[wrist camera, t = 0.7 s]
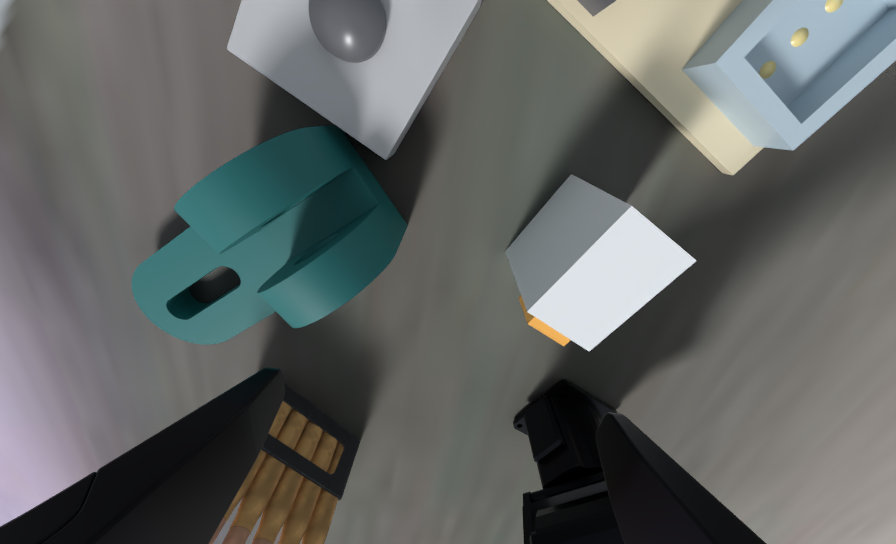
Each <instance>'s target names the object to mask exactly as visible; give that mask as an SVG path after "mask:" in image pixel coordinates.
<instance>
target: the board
mask: <svg viewBox="0 0 896 544" xmlns="http://www.w3.org/2000/svg"><path fill="white" fill-rule="evenodd" d="M547 1H548V2H549V3H550V4H551V5H552V6H553V7H554V8H555V9H556V10H557V11H558V12H559V13H560V14H561V15H562V16H563V17H564V18H565V19H566V20H567V21H568V22H569V23H570V24H571V25H573V26H574V27H575V28H576V29H577V30H578V31H579V32H580V33H581V34H582V35H583V36H584V37H585V38H586V39H587V40H588V41H589V42H590V43H591V44H592V45H593V46H594V47H595V48H596V49H597V50H598V51H599V52H600V53H601V54H602V55H603V56H604V57H605V58H606V59H607V60H608V61H609V62H610V63H611V64H612V65H613V66H614V67H615V68H616V69H617V70H618V71H619V72H620V73H621V74H622V75H623V76H624V77H625V78H626V79H627V80H628V81H629V82H630V83H631V84H632V85H633V86H634V87H635V88H636V89H637V90H638V91H639V92H640V93H641V94H643V95H644V96H645V97H646V98H647V99H648V100H649V101H650V102H651V103H652V104H653V105H654V106H655V107H656V108H657V109H658V110H659V111H660V112H661V113H662V114H663V115H664V116H665V117H666V118H667V119H668V120H669V121H670V122H671V123H672V124H673V125H674V126H675V127H676V128H677V129H678V130H679V131H680V132H681V133H682V134H683V135H684V136H685V137H686V138H687V139H688V140H689V141H690V142H691V143H692V144H693V145H694V146H695V147H696V148H697V149H698V150H699V151H700V152H701V153H702V154H703V155H704V156H705V157H706V158H707V159H708V160H709V161H710V162H711V163H713V164H714V165H715V166H716V167H717V168H718V169H719V170H720V171H721V172H722V173H724V174H729V175H734V174H735V173H737V172H738V171H739V170H740V169H741V168H742V167H743V166H744V165H745V164H746V163H747V162H749V161H750V160H751V159H752V158H753V157H754V156H755V155H756V154H757V153H758V152H759V151H760V150H762V149H763V148H764V147H757V146H753V145H752V144H751V143H750V142H749V141H748V140H747V139H746V138H745V136H744V135H743V134H742V133H741V132H740V131H739V130H738V129H737V128H736V127H735V126H734V125H733V124H732V123H731V122H730V121H729V119H728V118H727V117H726V116H725V115H724V114H723V113H722V112H721V111H720V110H719V109H718V108H717V107H716V106H715V105H714V103H713V102H712V101H711V100H710V99H709V98H708V97H707V96H706V95H705V94H704V93H703V92H702V91H701V90H700V89H699V88H698V86H697V85H696V84H695V83H694V82H693V81H692V80H691V79H690V78H689V77H688V76H687V75H686V74H685V73H684V72H683V71H682V69H683V67H684V66H685V65H686V64H687V63H688V62H689V61H690V59H691V58H692V57H693V56H694V55H695V54H696V53H697V52H698V50H699V49H700V48H701V47H702V46H703V45H704V44H705V42H706V41H707V40H708V39H709V38H710V37H711V36H712V34H713V33H714V32H715V31H716V30H717V29H718V28H719V27H720V25H721V24H722V23H723V22H724V21H725V20H726V19H727V17H728V16H729V15H730V14H731V13H732V12H733V11H734V9H735V8H736V7H737V6H738V5H739V4H740V3H741V2H742V0H616V1H615V2H614V3H612V4H611V5H609V6H608V7H606V8H605V9H604V10H602V11H601V12H599V13H598V14H596V15H595V16H592V15H591V14H590V13H589V12H588V11H587V10H586V9H585V8H584V7H583V6H582V5H581V4H580V3H579V2H578V1H577V0H547Z"/></svg>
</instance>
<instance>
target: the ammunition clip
mask: <svg viewBox="0 0 896 544" xmlns="http://www.w3.org/2000/svg"><path fill="white" fill-rule="evenodd" d="M284 386H285V395H284V399H283V402H282V404H281V406H280V408H279V411H278V413H277V415H276V417H275V420H274V422H273V424H272V426H271V429H270V431H269V433H268V435H267V438H266V440H265V442H264V444H263V447H262V449H261V451H260V453H259V455H258V457H257V459H256V461H255V463H254V465H253V466H252V468H251V470H250V472H249V474H248V475H247V477H246V479H245V481H244V482H243V484H242V486H241V488H240V489H239V491H238V493H237V495H236V496H235V498H234V500H233V502H232V504H231V505H230V507H229V509H228V511H227V512H226V514H225V516H224V518H223V519H222V521H221V523H220V525H219V526H218V528H217V530H216V532H215V533H214V535H213V537H212V539H211V541H210V542H209V544H213V542H214V541H215V539H216V538H217V536H218V534H219V533H220V531H221V529H222V527H223V526H224V524H225V522H226V521H227V520H228V518H229V516H230V515H231V513H232V511H233V510H234V508H235V507H236V505H237V504H238V503H239V502H240V500H241V499H242V498H243V499H242V501H241V504H240V506H239V509H238V512H237V515H236V517H235V519H234V521H233V523H232V525H231V527H230V530H229V532H228V534H227V535H226V537H225V539H224V541H223V543H222V544H245V542H246V540H247V538H248V536H249V534H250V533H251V531H252V529H253V527H254V526H255V524H256V522H257V520H258V519H259V517H260V516H261V514H262V513H263V515H262V518H261V521H260V525H259V527H258V530H257V532H256V534H255V537H254V539H253V542H252V544H273V543H274V541H275V539H276V537H277V534H278V532H279V531H280V529H281V527H282V526H283V524H284V526H283V529H282V534H281V538H280V541H279V543H278V544H299V543H300V541H301V539H302V537H303V539H302V544H324V542H325V539H326V537H327V533H328V530H329V527H330V524H331V520H332V517H333V514H334V511H335V507H336V504H337V501H338V500H341V498H342V495H343V492H344V489H345V486H346V483H347V480H348V477H349V474H350V471H351V468H352V465H353V462H354V459H355V456H356V453H357V450H358V447H359V444H360V441H359V440H358V439H357V438H355V437H354V436H353V435H351V434H350V433H349V432H347V431H346V430H345V429H343V428H342V427H341V426H339V425H338V424H337V423H335V422H334V421H333V420H331V419H330V418H329V417H327V416H326V415H325V414H323V413H322V412H321V411H319V410H318V409H317V408H315V407H314V406H313V405H311V404H310V403H309V402H308V401H306V400H305V399H304V398H302V397H301V396H300V395H298V394H297V393H296V392H294V391H293V390H292V389H290V388H289V387H288V386H286V385H285V384H284ZM243 496H244V497H243ZM263 511H264V512H263ZM284 522H285V523H284Z"/></svg>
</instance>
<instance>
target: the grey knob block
mask: <svg viewBox="0 0 896 544" xmlns="http://www.w3.org/2000/svg"><path fill="white" fill-rule="evenodd" d="M481 2H482V0H242V1H241V4H240V8H239V11H238V14H237V17H236V21H235V24H234V27H233V30H232V33H231V37H230V40H229V43H228V46H227V50H229V51H230V52H232V53H233V54H235V55H236V56H237V57H239V58H240V59H242V60H243V61H245V62H246V63H247V64H249V65H250V66H252V67H253V68H255V69H256V70H257V71H259V72H260V73H262V74H263V75H265V76H266V77H267V78H269V79H270V80H272V81H273V82H275V83H276V84H278V85H279V86H280V87H282V88H283V89H285V90H286V91H288V92H289V93H290V94H292V95H293V96H295V97H296V98H298V99H299V100H300V101H302V102H303V103H305V104H306V105H308V106H309V107H310V108H312V109H313V110H315V111H316V112H318V113H319V114H320V115H322V116H323V117H325V118H326V119H328V120H329V121H330V122H332V123H333V124H335V125H336V126H338V127H339V128H341V129H342V130H343V131H345V132H346V133H348V134H349V135H351V136H352V137H353V138H355V139H356V140H358V141H359V142H361V143H362V144H363V145H365V146H366V147H368V148H369V149H371V150H372V151H373V152H375V153H376V154H378V155H379V156H381V157H382V158H383V159H385V160H387V159H388V158H389V157H391V156H392V155H394V154H395V152H396V150H397V149H398V147H399V145H400V144H401V142H402V140H403V138H404V137H405V135H406V133H407V132H408V130H409V128H410V126H411V125H412V123H413V121H414V120H415V118H416V116H417V115H418V113H419V111H420V109H421V108H422V106H423V104H424V103H425V101H426V99H427V97H428V96H429V94H430V92H431V91H432V89H433V87H434V86H435V84H436V82H437V80H438V79H439V77H440V75H441V74H442V72H443V70H444V68H445V67H446V65H447V63H448V62H449V60H450V58H451V57H452V55H453V53H454V51H455V50H456V48H457V46H458V45H459V43H460V41H461V39H462V38H463V36H464V34H465V33H466V31H467V29H468V27H469V26H470V24H471V22H472V21H473V19H474V17H475V16H476V14H477V12H478V10H479V9H480V6H481Z"/></svg>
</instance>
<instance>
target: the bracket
mask: <svg viewBox="0 0 896 544" xmlns="http://www.w3.org/2000/svg"><path fill="white" fill-rule="evenodd" d="M174 209H175V211H176V212H177V213H178V214H179V215H180V216H181V217H182V218H183V219H184V220H185V221H186V222H187V223H188V224H189V225H190V227H189V228H188V229H186V230H185V231H184V232H182V233H181V234H180V235H178V236H177V237H176V238H174V239H173V240H172V241H170V242H169V243H168V244H166V245H165V246H164V247H162V248H161V249H160V250H158V251H157V252H156V253H154V254H153V255H152V256H150V257H149V258H148V259H146V260H145V261H144V262H142V263H141V264H140V265H139V266H138V267H137V269H136V270H135V272H134V274H133V277H132V291H133V295H134V298H135V300H136V302H137V304H138V306H139V307H140V309H141V310H142V312H143V313H144V314H145V315H146V316H147V317H148V319H149V320H151V321H152V322H153V323H154V324H155V325H156V326H157V327H159V328H160V329H162V330H163V331H165V332H166V333H168V334H170V335H172V336H174V337H176V338H178V339H181V340H184V341H187V342H191V343H195V344H206V345H207V344H217V343H221V342H224V341H226V340H228V339H230V338H232V337H233V336H235V335H237V334H238V333H240V332H242V331H244V330H245V329H247V328H249V327H250V326H252V325H254V324H255V323H257V322H259V321H261V320H262V319H264V318H266V317H267V316H269V315H271V314H272V313H274V312H277V313H278V314H279V315H280V316H281V317H282V318H283V319H284V320H285V321H286V322H287V323H288V324H289V325H290V326H291V327H293V328H300V327H304V326H306V325H309V324H311V323H313V322H315V321H317V320H319V319H321V318H323V317H325V316H326V315H328V314H330V313H331V312H333V311H334V310H336V309H337V308H339V307H340V306H342V305H343V304H345V303H346V302H347V301H349V300H350V299H351V298H353V297H354V296H355V295H357V294H358V293H359V292H360V291H362V290H363V289H364V288H365V287H366V286H367V285H369V284H370V283H371V282H372V281H373V280H374V279H375V278H376V277H377V276H378V275H379V274H380V273H381V272H382V271H383V270H384V269H385V268H386V267H387V265H388V264H389V263H390V262H391V260H392V259H393V257H394V256H395V254H396V252H397V250H398V247H399V245H400V242H401V240H402V238H403V235H404V233H405V231H406V228H407V226H408V225H407V224H406V222H405V221H404V219H403V218H402V216H401V215H400V214H399V212H398V211H397V209H396V208H395V206H394V205H393V203H392V202H391V200H390V199H389V197H388V196H387V195H386V193H385V192H384V190H383V189H382V187H381V186H380V184H379V183H378V181H377V180H376V179H375V177H374V176H373V174H372V173H371V171H370V170H369V168H368V167H367V165H366V164H365V163H364V161H363V160H362V158H361V157H360V155H359V154H358V152H357V151H356V149H355V148H354V147H353V145H352V144H351V142H350V141H349V139H348V138H347V136H346V135H345V133H344V132H343V130H342V129H341V128H339V127H338V126H336V125H327V126H316V127H305V128H300V129H296V130H292V131H289V132H287V133H284V134H281V135H279V136H276V137H274V138H272V139H270V140H268V141H266V142H263V143H261V144H259V145H257V146H256V147H254V148H252V149H250V150H248V151H246V152H244V153H243V154H241V155H239V156H237V157H236V158H234V159H232V160H231V161H229V162H227V163H226V164H224V165H223V166H221V167H220V168H218V169H216V170H215V171H213V172H212V173H211V174H209V175H208V176H206V177H205V178H204V179H202V180H201V181H200V182H198V183H197V184H196V185H194V186H193V187H192V188H191V189H190V190H189V191H187V192H186V193H185V194H184V195H183V196H182V197H181V198H180V199H179V201H178V202H177V203H176V205H175V208H174ZM219 266H226V267H229V268H231V269H233V270H234V271H235V272H237V274H238V275H239V277H240V279H241V283H240V284H239V285H237V286H236V287H234V288H233V289H231V290H230V291H228V292H226V293H225V294H223V295H222V296H220V297H219V298H217V299H216V300H214V301H212V302H211V303H201V302H199V301H197V300H196V299H194V298H193V296H192V295H191V293H190V287H191V285H192V284H194V283H195V282H197V281H198V280H200V279H201V278H203V277H204V276H206V275H207V274H209V273H210V272H211V271H213V270H214V269H216V268H217V267H219Z"/></svg>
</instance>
